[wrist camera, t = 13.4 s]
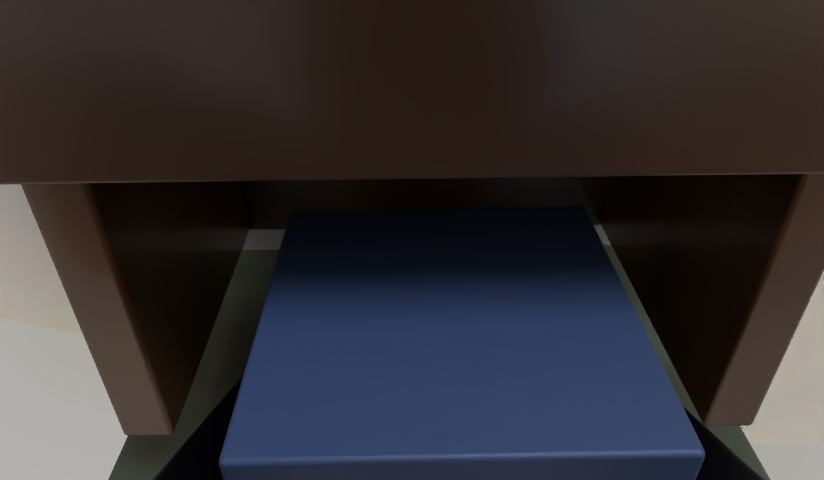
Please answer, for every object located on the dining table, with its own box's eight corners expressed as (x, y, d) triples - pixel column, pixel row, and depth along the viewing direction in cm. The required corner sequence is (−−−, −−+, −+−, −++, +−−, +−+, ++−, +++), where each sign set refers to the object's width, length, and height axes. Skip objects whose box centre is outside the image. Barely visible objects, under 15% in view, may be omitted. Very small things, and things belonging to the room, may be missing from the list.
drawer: (601, 386, 19) (693, 638, 13) (243, 392, 19) (172, 650, 13) (774, -324, 10) (1348, -559, 4) (77, -322, 10) (-430, -561, 4)
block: (550, 405, 12) (619, 670, 8) (317, 408, 11) (279, 677, 8) (584, 204, 9) (710, 455, 5) (290, 209, 9) (215, 463, 5)
